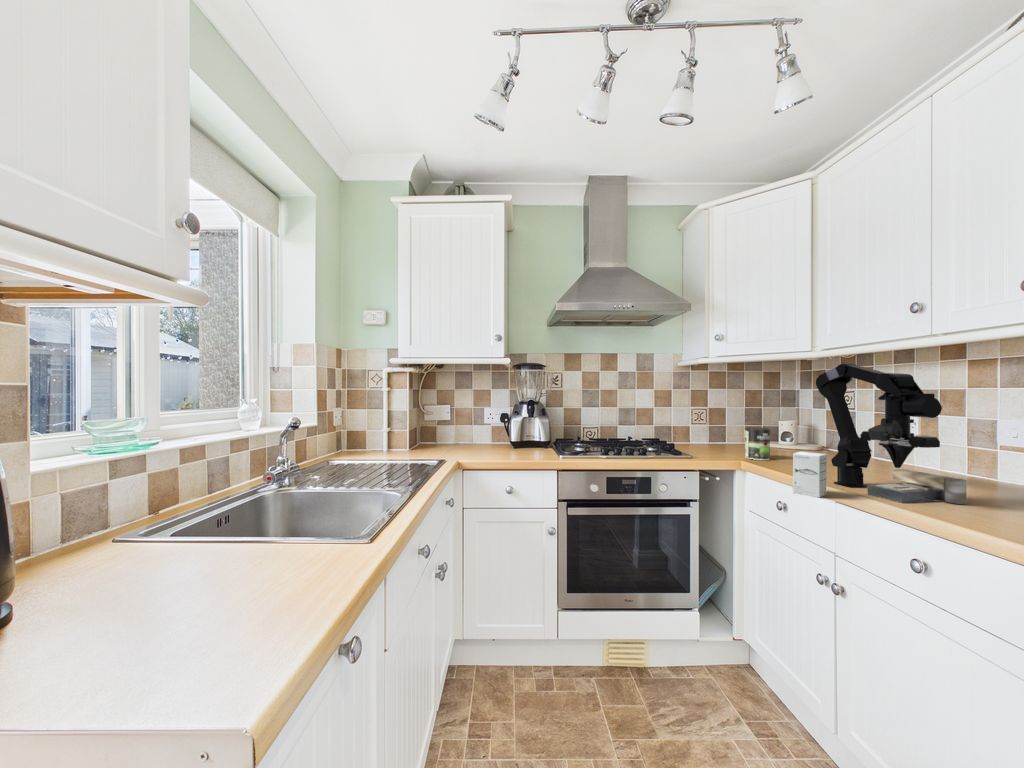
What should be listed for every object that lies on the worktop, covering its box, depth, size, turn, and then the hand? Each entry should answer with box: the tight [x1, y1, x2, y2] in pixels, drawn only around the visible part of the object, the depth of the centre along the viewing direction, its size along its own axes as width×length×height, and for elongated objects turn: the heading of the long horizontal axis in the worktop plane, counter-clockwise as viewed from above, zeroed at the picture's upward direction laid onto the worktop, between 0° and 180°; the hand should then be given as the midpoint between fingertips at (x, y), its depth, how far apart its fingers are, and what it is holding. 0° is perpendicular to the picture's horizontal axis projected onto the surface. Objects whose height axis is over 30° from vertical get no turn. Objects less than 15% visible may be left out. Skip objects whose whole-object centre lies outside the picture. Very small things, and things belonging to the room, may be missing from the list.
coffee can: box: [744, 427, 771, 461], centre depth 205 cm, size 10×10×14 cm
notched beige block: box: [892, 468, 967, 505], centre depth 133 cm, size 18×4×6 cm, turn 11°
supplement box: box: [792, 450, 828, 499], centre depth 137 cm, size 7×7×13 cm
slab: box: [867, 482, 945, 504], centre depth 133 cm, size 10×20×3 cm, turn 101°
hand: (897, 467), depth 133 cm, fingers closed
